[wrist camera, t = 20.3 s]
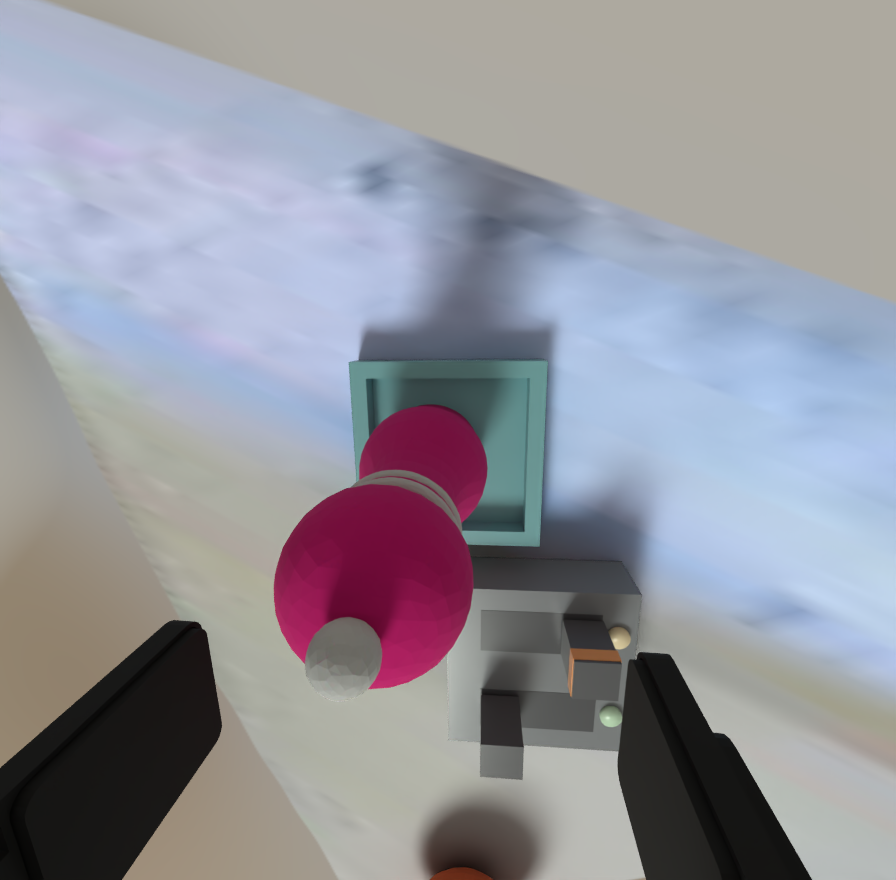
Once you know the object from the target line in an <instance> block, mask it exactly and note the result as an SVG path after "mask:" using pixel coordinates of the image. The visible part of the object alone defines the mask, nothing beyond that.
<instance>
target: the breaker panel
mask: <svg viewBox="0 0 896 880" xmlns="http://www.w3.org/2000/svg"><path fill="white" fill-rule="evenodd" d="M471 561H472V566H473V583H474V587H473V594H472V601H471V608H470V611H469V614H468V617H467V620H466V623H465V626H464V628H463V630H462V632H461V633H460V635H459V637H458V639H457V641H456V642H455V644H454V646H453V647H452V648H451V650H450V651H449V652H448V653H447V683H448V740H452V741H467V742H481V695H497V696H514V697H519V705H520V715H521V725H522V735H523V745H528V746H543V747H559V748H574V749H589V750H604V751H619V744H620V734H621V725H622V715H623V706H624V696H625V687H626V678H627V668H628V662H629V660H630V659H635V654H636V645H637V636H638V627H639V618H640V609H641V599H642V594H641V593H640V591H639V589H638V588H637V586H636V584H635V583H634V581H633V579H632V578H631V576H630V575H629V573H628V571H627V570H626V568H625V566H624V565H623V563H622V561H590V560H557V559H525V558H492V557H471ZM563 620H586V621H604V623H605V625H606V628H607V630H608V633H609V635H610V637H611V640H612V642H613V644H614V647H615V649H616V650H617V651H618V653H619V656H620V658H621V660H622V669H621V679H620V689H619V698H618V701H604V700H587V699H572V696H570V693H569V689H568V680H567V676H566V672H565V668H564V664H563V660H562V655H561V640H562V623H563Z"/></svg>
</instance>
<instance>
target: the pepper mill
mask: <svg viewBox="0 0 896 880" xmlns="http://www.w3.org/2000/svg"><path fill="white" fill-rule="evenodd" d="M487 470H488V466H487V457H486V454H485V450H484V447H483V445H482V443H481V441H480V439H479V437H478V436H477V434H476V433H475V431H474V429H473V427H472V426H471V424H470V423H469V422H468V421H467V420H466V418H464V417H463V416H462V415H461V414H460V413H458V412H457V411H455V410H453V409H450V408H448V407H445V406H441V405H434V404H427V405H420V406H417V407H411V408H407V409H403V410H400V411H398V412H396V413H394V414H392V415H390V416H389V417H388V418H386V419H385V420H383V421H382V422H381V423H380V424H379V425H378V426H377V427H376V428H375V429H374V431H373V432H372V434H371V436H370V437H369V439H368V440H367V442H366V444H365V446H364V449H363V451H362V454H361V459H360V464H359V481H357V482H356V483H355V484H354V485H353V486H352V487H351V488H346V489H344V490H342V491H340V492H338V493H336V494H334V495H332V496H329V497H327V498H326V499H325V500H323V501H322V502H320V503H319V504H318V505H316V506H315V507H314V508H313V509H312V510H310V511H309V512H308V513H307V514H306V515H305V516H304V517H303V518H302V519H301V521H300V522H299V523H298V525H297V526H296V527H295V529H294V530H293V532H292V533H291V535H290V537H289V538H288V540H287V542H286V543H285V545H284V547H283V549H282V552H281V555H280V558H279V562H278V565H277V569H276V573H275V580H274V603H275V611H276V616H277V619H278V622H279V625H280V628H281V631H282V633H283V635H284V637H285V639H286V640H287V642H288V644H289V646H290V647H291V649H292V650H293V651H294V652H295V654H296V655H297V656H298V657H299V658H300V659H301V660H302V661H303V663H304V664H305V670H306V676H307V678H308V680H309V682H310V684H311V686H312V687H313V689H314V690H315V692H317V693H318V694H319V695H321V696H322V697H324V698H325V699H328V700H332V701H347V700H350V699H353V698H356V697H358V696H360V695H361V694H363V693H364V692H365V691H366V690H368V689H376V688H390V687H394V686H397V685H400V684H404V683H407V682H409V681H411V680H413V679H415V678H417V677H419V676H421V675H423V674H425V673H426V672H427V671H429V670H430V669H432V668H433V667H435V666H436V665H437V664H438V663H439V662H440V661H441V660H442V659H443V657H444V656H445V655H446V654H447V653H448V652H449V651H450V650H451V648H452V647H453V646H454V644H455V642H456V641H457V639H458V637H459V635H460V633H461V632H462V630H463V628H464V626H465V623H466V620H467V617H468V614H469V611H470V608H471V601H472V594H473V587H474V583H473V566H472V561H471V557H470V552H469V548H468V545H467V543H466V541H465V540H464V538H463V536H462V524H461V523H462V522H463V521H464V520H465V519H466V518H467V517H468V516H469V515H470V514H471V513H472V512H473V511H474V509H475V508H476V507H477V505H478V503H479V501H480V499H481V497H482V495H483V492H484V488H485V484H486V479H487Z"/></svg>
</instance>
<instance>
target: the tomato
mask: <svg viewBox="0 0 896 880" xmlns="http://www.w3.org/2000/svg"><path fill="white" fill-rule="evenodd" d="M430 880H493V879H492V878H490V877H489V876H487V875H486V874H484V873H482V872H480V871H477V870H475V869H472V868H467V867H457V868H451V869H448V870H445V871H441V872H439V873H437V874H435V875H434V876H433V877H432V878H431V879H430Z"/></svg>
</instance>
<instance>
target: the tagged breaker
mask: <svg viewBox="0 0 896 880" xmlns="http://www.w3.org/2000/svg"><path fill="white" fill-rule="evenodd" d="M561 655H562V660H563V664H564V668H565V672H566V676H567V680H568V689H569V693H570V696H572V699H587V700H604V701H618V698H619V689H620V679H621V669H622V660H621V658H620V656H619V653H618V651H617V650H616V649H615V647H614V644H613V642H612V640H611V637H610V635H609V633H608V630H607V628H606V625H605V623H604V621H586V620H563V623H562V640H561Z"/></svg>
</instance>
